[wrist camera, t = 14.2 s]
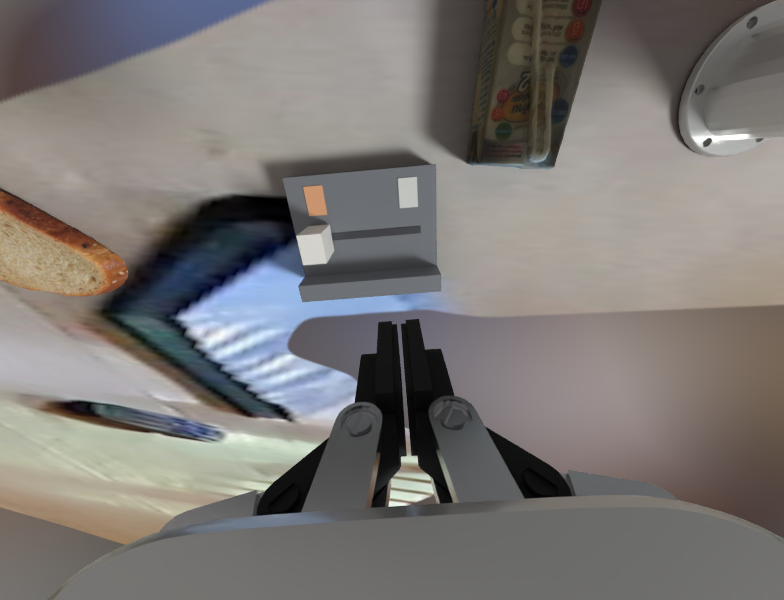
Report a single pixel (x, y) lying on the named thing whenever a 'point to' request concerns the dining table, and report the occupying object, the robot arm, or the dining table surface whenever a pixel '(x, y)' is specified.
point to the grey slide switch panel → (369, 231)
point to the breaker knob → (315, 244)
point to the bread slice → (53, 254)
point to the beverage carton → (528, 79)
